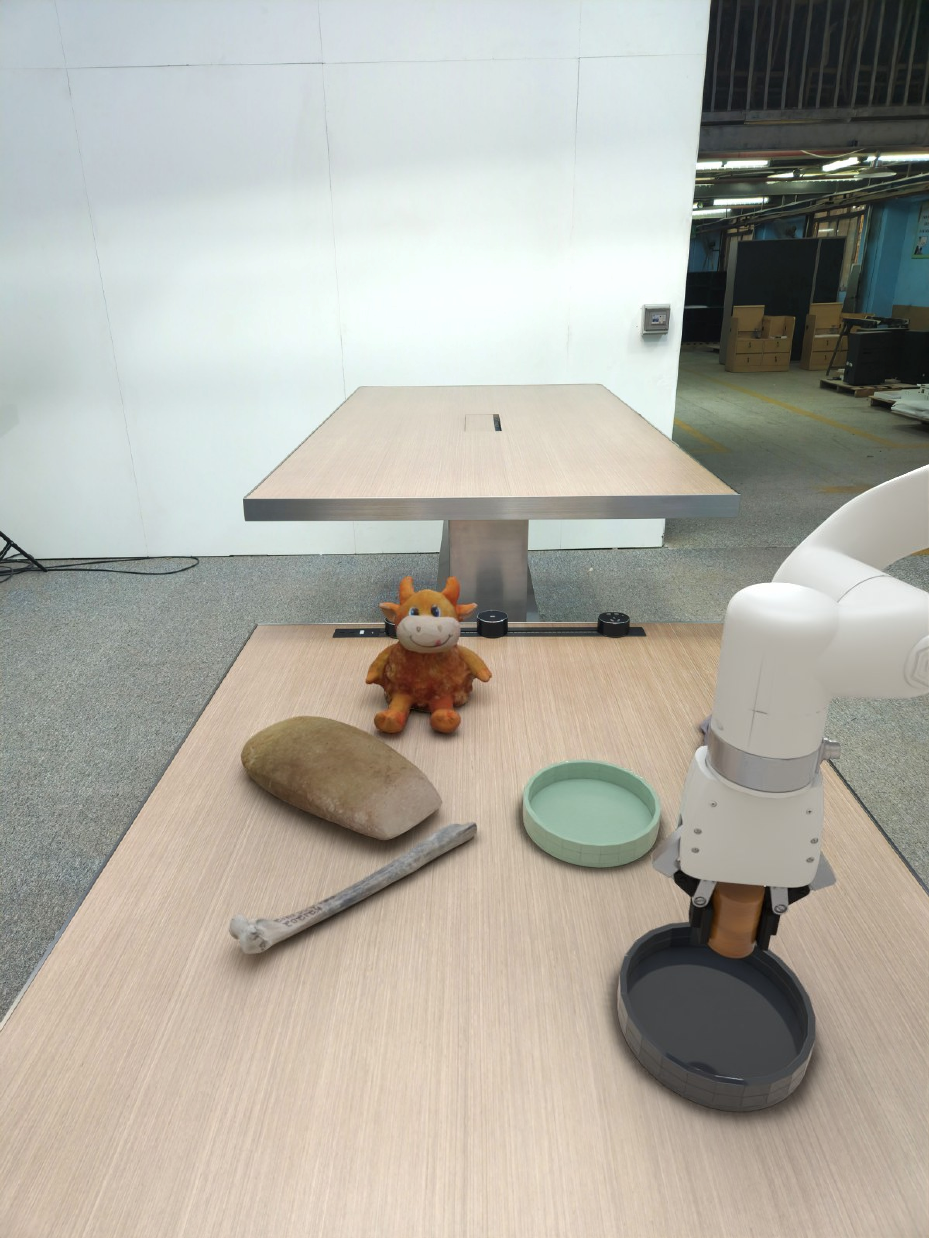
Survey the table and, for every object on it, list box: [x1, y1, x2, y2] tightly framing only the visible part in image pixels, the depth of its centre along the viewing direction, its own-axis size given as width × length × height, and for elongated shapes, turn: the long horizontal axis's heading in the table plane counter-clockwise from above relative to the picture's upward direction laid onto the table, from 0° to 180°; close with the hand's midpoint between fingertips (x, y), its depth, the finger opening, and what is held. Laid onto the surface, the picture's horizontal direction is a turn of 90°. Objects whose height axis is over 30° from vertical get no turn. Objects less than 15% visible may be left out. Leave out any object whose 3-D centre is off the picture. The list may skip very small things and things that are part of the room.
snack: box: [708, 881, 765, 958], centre depth 61 cm, size 4×4×6 cm
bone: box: [228, 821, 478, 955], centre depth 80 cm, size 29×4×5 cm, turn 129°
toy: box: [365, 575, 493, 734], centre depth 116 cm, size 19×22×25 cm
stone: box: [240, 715, 443, 841], centre depth 96 cm, size 30×15×6 cm, turn 51°
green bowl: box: [522, 758, 662, 868], centre depth 90 cm, size 16×16×3 cm
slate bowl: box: [616, 921, 817, 1113], centre depth 66 cm, size 16×16×3 cm
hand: (730, 932), depth 62 cm, fingers closed on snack, 4 cm apart
